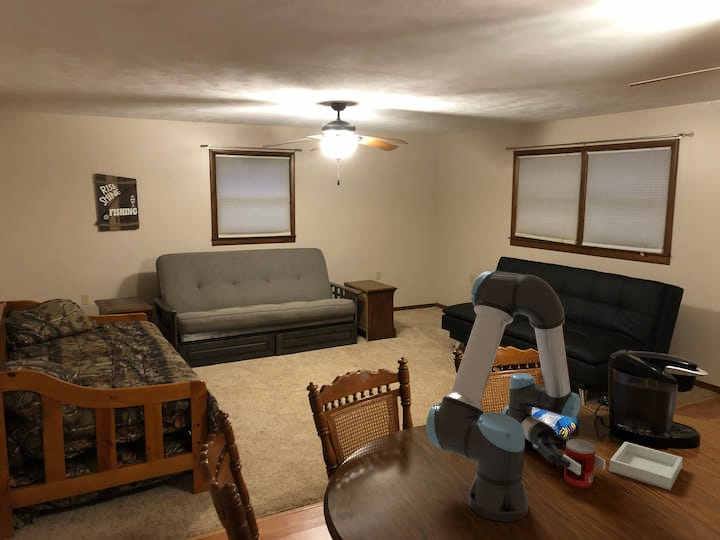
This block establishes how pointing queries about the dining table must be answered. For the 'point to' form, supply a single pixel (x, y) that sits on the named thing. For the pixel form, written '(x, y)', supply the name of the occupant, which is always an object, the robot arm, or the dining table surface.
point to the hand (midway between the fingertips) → (592, 467)
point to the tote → (646, 465)
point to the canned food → (585, 457)
